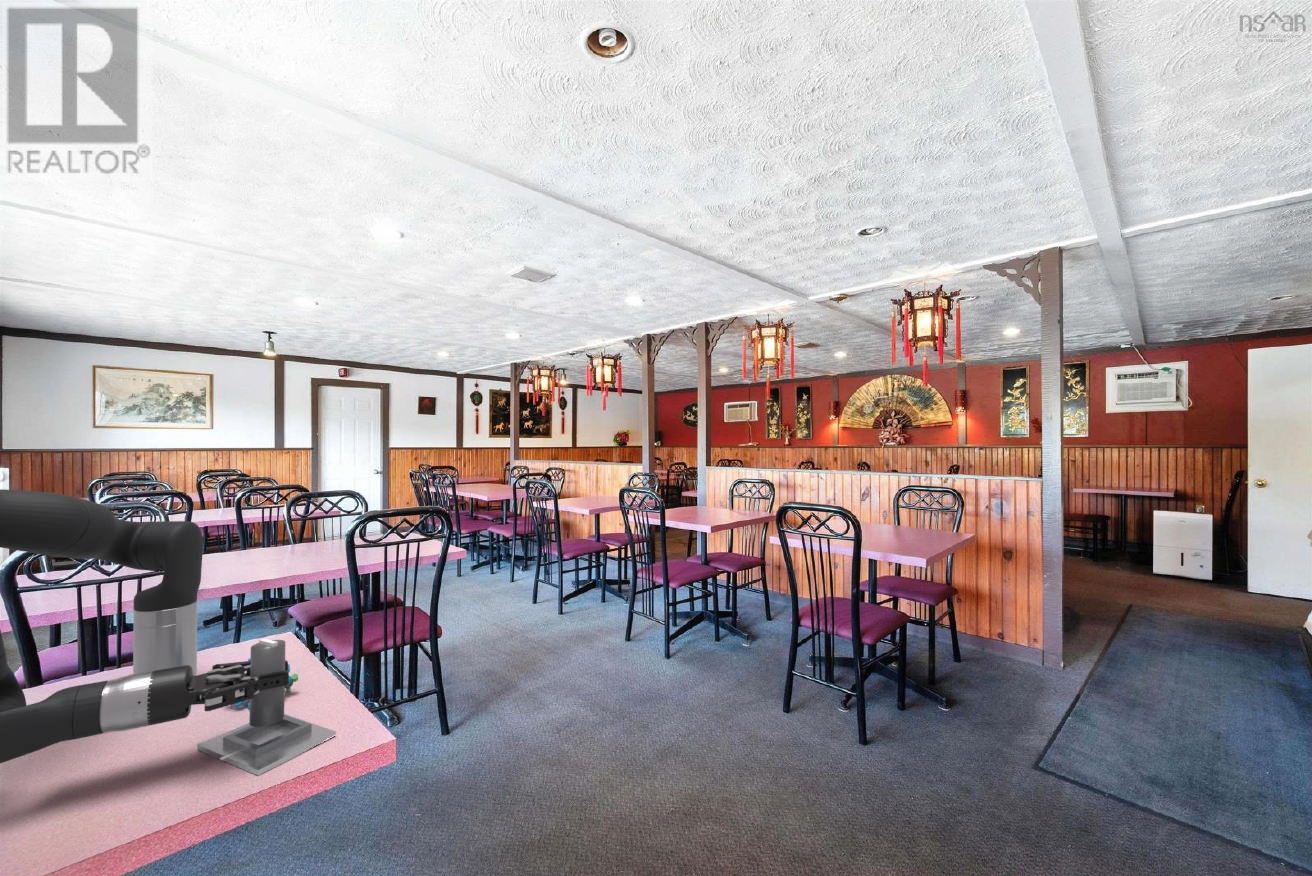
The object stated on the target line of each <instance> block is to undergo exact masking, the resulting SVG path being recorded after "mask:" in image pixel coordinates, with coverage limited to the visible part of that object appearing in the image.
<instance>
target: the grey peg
mask: <svg viewBox="0 0 1312 876" xmlns="http://www.w3.org/2000/svg"><path fill="white" fill-rule="evenodd" d="M250 658H251V663H250V676H260V675H264V674H270V673H274V672H280V671H285V660H286V641H285V640H284V639H272V640H271V639H268V638H262V639H259V640H258V643H255V644H252V646H250ZM285 693H286V688H285V686H281V687H276V688H271V689H266V690H261V691H260V690H259V693H257V694H254V698H252V699H250V700H249V702H250V708H249V722H248V723H249V724H250V725H251V726H253V727H261V726H267V725H271V724H274V723H276V722H278V721H280V720H282V719H283V718H284V714H285Z"/></svg>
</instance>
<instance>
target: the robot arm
mask: <svg viewBox="0 0 1312 876" xmlns="http://www.w3.org/2000/svg"><path fill="white" fill-rule="evenodd" d="M0 548H2V549H7V550H13V551H20V552H26V553H32V554H36V555H41V556H49V557H56V558H69V559H79V560H93V559H94V560H102V561H105V562H106V561H107V562H109V563H113V564H116V565H119V566H123V567H124V568H125V567H126V568H130V569H133V570H139V571H163V575H162V580H161V581H160V583H158V584H157V585H155V586H152V587H149V588H146V589H143V590H141V591H139V592H136V594H135V595H134V596H133V637H132V638H133V640H132V641H133V642H132V643H133V645H132V646H133V647H132V648H133V651H132V653H133V659H132V664H133V665H132V667H133V669H132V672H133V673H132V674H128V675H124V676H121V677H117V678H114V679H108V680H103V681H96V682H91V683H86V684H84V683H83V684H80V685H79V684H78V685H73V686H69V687H66V688H63V689H59V690H57V691H55V692H54V693H53V694H51V695H49V696H47V697H46V698H45V699H42V700H41V701H40V700H39V701H38V702H33V703H31V704H27V700H26V695H25V693H24V690H23V688H22V686H21V685H20V682H19V681H18V679H17V676H16V675H15V674H14V672H13V671H12V669H11V668H10V666H9V665H8V661H7V653H6V647H5V644H4V639H3V634H2V631H1V629H0V764H3V763H6V762H8V761H9V762H10V761H11V760H14V759H17V758H20V757H23V756H26V755H30V754H32V753H34V752H36V751H41V750H43V749H45V748H47V747H51V746H52V745H55V744H58V743H62V742H68V741H72V740H79V739H83V738H89V737H92V736H97V735H102V734H107V733H114V732H117V733H118V732H125V731H131V730H134V729H135V730H136V729H140V728H145V727H149V726H154V725H158V724H164V723H169V722H173V721H177V720H178V721H179V720H182V719H183V720H184V719H186V718H188V716H189V715H190V713H191V711H192V706H194V705H195V706H196V705H204V712H211V711H214V710H218V709H222V708H225V707H229V706H231V705H236V703H239V702H242V701H245V702H246V701H250V699H252V698H254V694H257V693H259V690H260V691H261V690H266V689H271V688H276V687H281V686H286V685H287V684H288V683H289V676H290V675H289V673H290V672H288V664H289V662H288V660H286V659H285V671H280V672H274V673H270V674H264V675H260V676H250V663H251V661H248V660H246V661H238V662H235V661H234V662H227V663H225V662H224V663H216V664H213V665H212V667H211V668H212V669H211V670H208V671H207V672H204V673H202V674H201V673H200V674H198V672H197V671H198V592H199V589H200V586H201V581H202V567H203V553H204V538H203V533H202V530H201V528H200V526H199V525H198V524H197V523H195V522H194V521H188V520H187V521H186V520H181V521H180V520H178V521H177V520H175V521H173V520H171V521H169V520H167V521H131V520H124V519H119V518H116V516H115V515H114V513H113V512H112V511H111V510H110V509H109V508H108V507H106V506H104V505H102V504H100V503H98V502H95V501H93V500H92V501H91V500H87V499H84V498H79V497H77V496H73V495H70V494H69V495H68V494H62V493H59V492H58V493H57V492H48V491H35V490H34V491H33V490H23V489H21V490H18V489H1V488H0ZM246 672H247V673H246ZM243 688H244V689H243Z"/></svg>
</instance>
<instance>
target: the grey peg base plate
mask: <svg viewBox="0 0 1312 876" xmlns="http://www.w3.org/2000/svg"><path fill="white" fill-rule="evenodd" d="M335 734H336V735H337V731H335V730H333V729H330V728H327V727H324V726H321V725H319V724H315V723H312V722H310V721H307V720H303V719H301V718H298V717H295V716H292V715H289V714H285V713H284V718H283V719H282V720H280V721H278V722H276V723H274V724H271V725H267V726H261V727H253V726H251V725H250V724H249V722H248V723H246V724H243V725H241V726H238V727H235V728H234V729H231V730H229V731H226V732H224V733H222V734H220V735H217V736H214V737H213V738H209V739H208V740H206V741H205V740H204V741H203V742H200V743H198V744H197V748H196V750H197V751H200V752H202V753H204V754H206V755H209V756H212V757H214V758H216V759H217V760H221V761H223V762H224V763H228V764H230V765H233V766H235V767H237V768H239V769H241V770H243V771H246V772H248V773H250V774H253V775H255V776H261V775H263V774H265V773H267V772H268V771H270V770H272V769H274V768H276V767H278V766H280V765H282V764H284V763H286V762H288V761H290V760H292V759H294V758H296V757H298V756H300V755H302V754H304V753H307V752H308V751H310V750H311V749H310V748H312V749H314V748H315V747H314V746H316V745H317V744H319V743H322V742H323V741H324V740H326V739H327V738H330V737H332V736H333V735H335ZM322 744H323V743H322ZM313 747H314V748H313ZM316 747H317V746H316ZM309 749H310V750H309ZM307 750H308V751H307ZM303 752H304V753H303Z"/></svg>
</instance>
